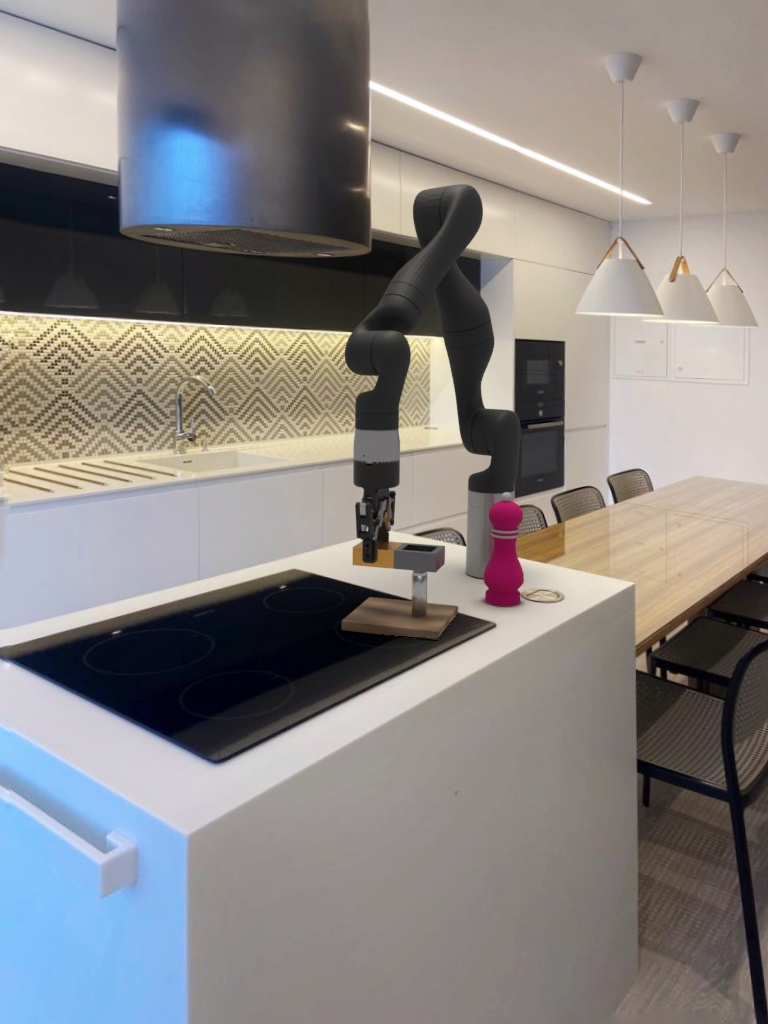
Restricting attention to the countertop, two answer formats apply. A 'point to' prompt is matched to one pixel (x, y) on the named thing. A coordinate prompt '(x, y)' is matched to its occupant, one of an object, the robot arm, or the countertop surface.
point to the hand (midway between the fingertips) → (375, 557)
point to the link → (404, 556)
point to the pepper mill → (504, 554)
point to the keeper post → (419, 594)
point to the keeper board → (399, 618)
